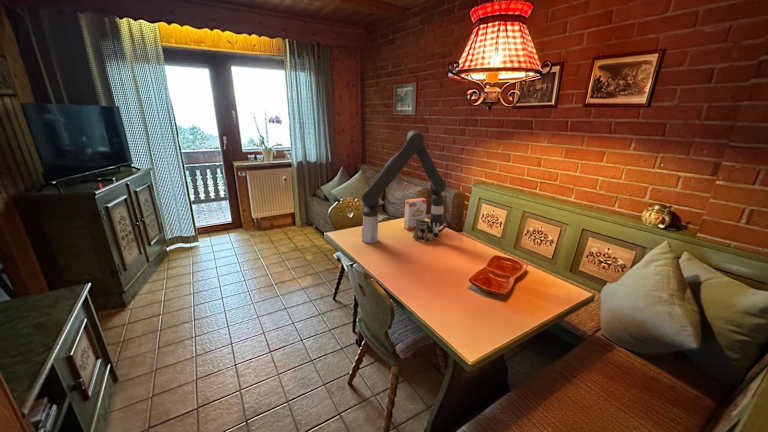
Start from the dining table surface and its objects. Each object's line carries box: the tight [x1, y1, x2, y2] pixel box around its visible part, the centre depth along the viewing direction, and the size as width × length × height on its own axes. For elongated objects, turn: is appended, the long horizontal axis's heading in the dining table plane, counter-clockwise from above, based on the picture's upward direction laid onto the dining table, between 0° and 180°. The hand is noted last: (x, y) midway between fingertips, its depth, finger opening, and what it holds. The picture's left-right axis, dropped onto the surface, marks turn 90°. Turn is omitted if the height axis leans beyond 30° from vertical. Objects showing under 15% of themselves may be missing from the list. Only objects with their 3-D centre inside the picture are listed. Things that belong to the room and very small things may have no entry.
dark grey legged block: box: [414, 220, 435, 243], centre depth 190 cm, size 12×12×10 cm
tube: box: [412, 229, 434, 242], centre depth 191 cm, size 12×5×5 cm, turn 66°
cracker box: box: [403, 197, 428, 231], centre depth 205 cm, size 14×6×21 cm, turn 115°
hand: (436, 237), depth 188 cm, fingers closed
